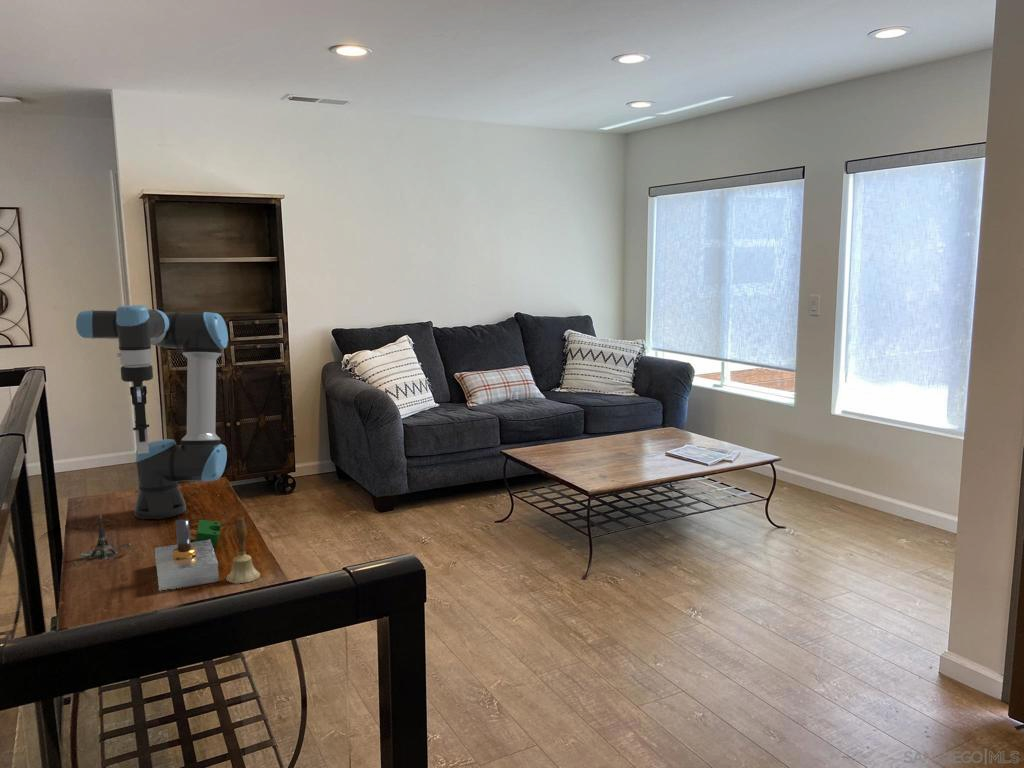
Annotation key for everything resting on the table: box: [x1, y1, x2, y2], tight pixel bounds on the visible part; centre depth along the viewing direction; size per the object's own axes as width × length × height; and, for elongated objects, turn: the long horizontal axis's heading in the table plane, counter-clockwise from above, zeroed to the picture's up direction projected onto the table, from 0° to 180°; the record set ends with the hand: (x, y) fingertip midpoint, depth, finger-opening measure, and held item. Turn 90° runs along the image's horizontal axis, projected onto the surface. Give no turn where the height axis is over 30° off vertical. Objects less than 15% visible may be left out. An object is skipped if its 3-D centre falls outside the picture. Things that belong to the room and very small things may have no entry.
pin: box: [173, 518, 196, 560], centre depth 203 cm, size 6×6×14 cm
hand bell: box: [226, 517, 261, 585], centre depth 201 cm, size 8×8×16 cm
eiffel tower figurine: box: [74, 513, 132, 567], centre depth 216 cm, size 15×10×13 cm
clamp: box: [194, 519, 221, 548], centre depth 224 cm, size 12×6×9 cm, turn 12°
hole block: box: [154, 540, 220, 592], centre depth 204 cm, size 18×14×5 cm
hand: (143, 452), depth 207 cm, fingers closed
